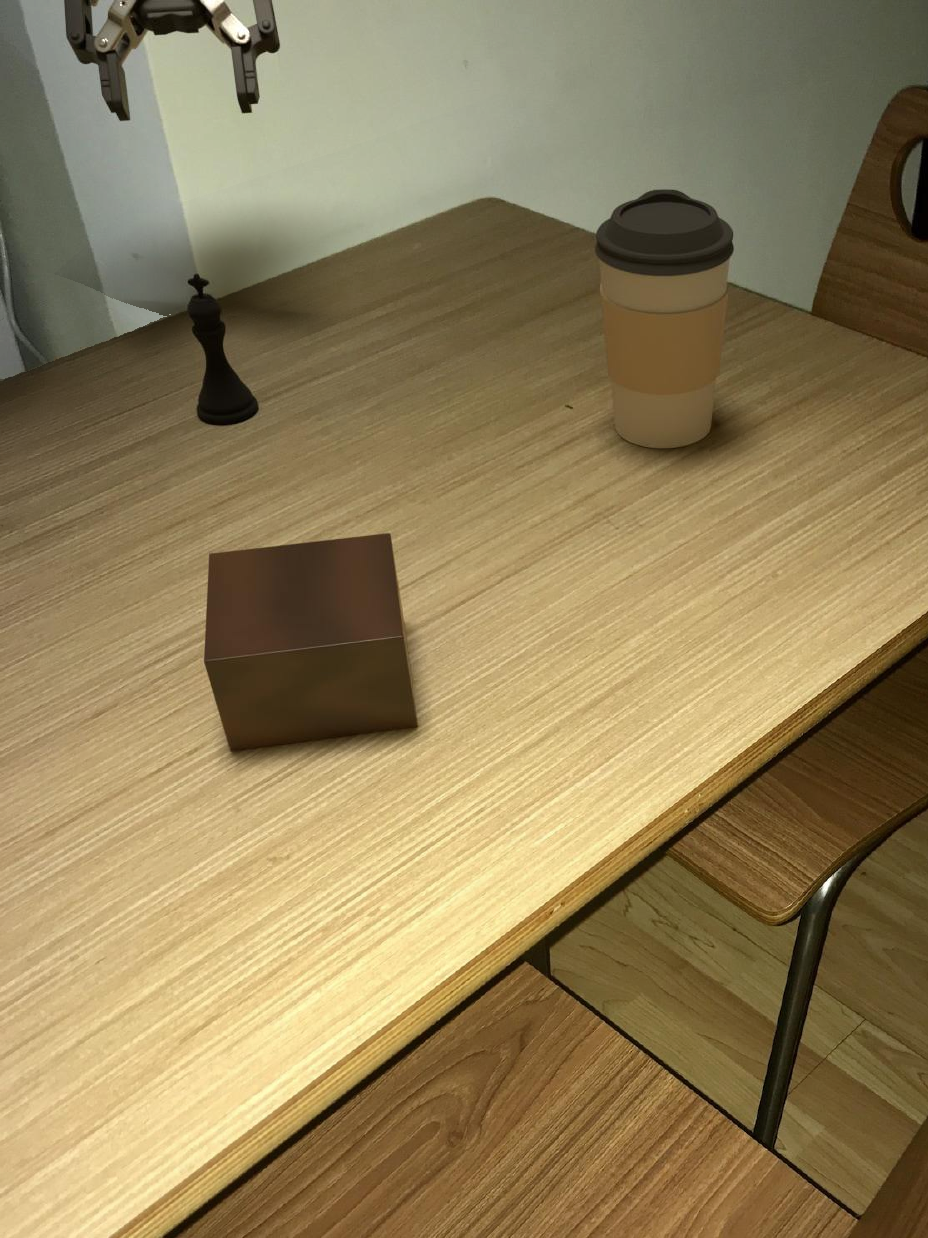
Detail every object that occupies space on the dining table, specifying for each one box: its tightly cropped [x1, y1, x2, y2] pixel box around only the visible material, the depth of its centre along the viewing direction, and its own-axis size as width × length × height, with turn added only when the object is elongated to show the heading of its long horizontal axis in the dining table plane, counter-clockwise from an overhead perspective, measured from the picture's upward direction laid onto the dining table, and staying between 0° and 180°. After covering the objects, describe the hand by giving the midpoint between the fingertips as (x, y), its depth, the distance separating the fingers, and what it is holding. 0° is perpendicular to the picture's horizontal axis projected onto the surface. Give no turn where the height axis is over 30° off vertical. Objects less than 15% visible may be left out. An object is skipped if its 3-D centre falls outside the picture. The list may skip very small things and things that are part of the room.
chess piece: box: [186, 273, 259, 425], centre depth 95 cm, size 4×4×10 cm
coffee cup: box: [594, 188, 735, 449], centre depth 90 cm, size 9×9×15 cm
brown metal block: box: [203, 532, 419, 752], centre depth 73 cm, size 10×10×6 cm
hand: (184, 111), depth 94 cm, fingers open, 8 cm apart
